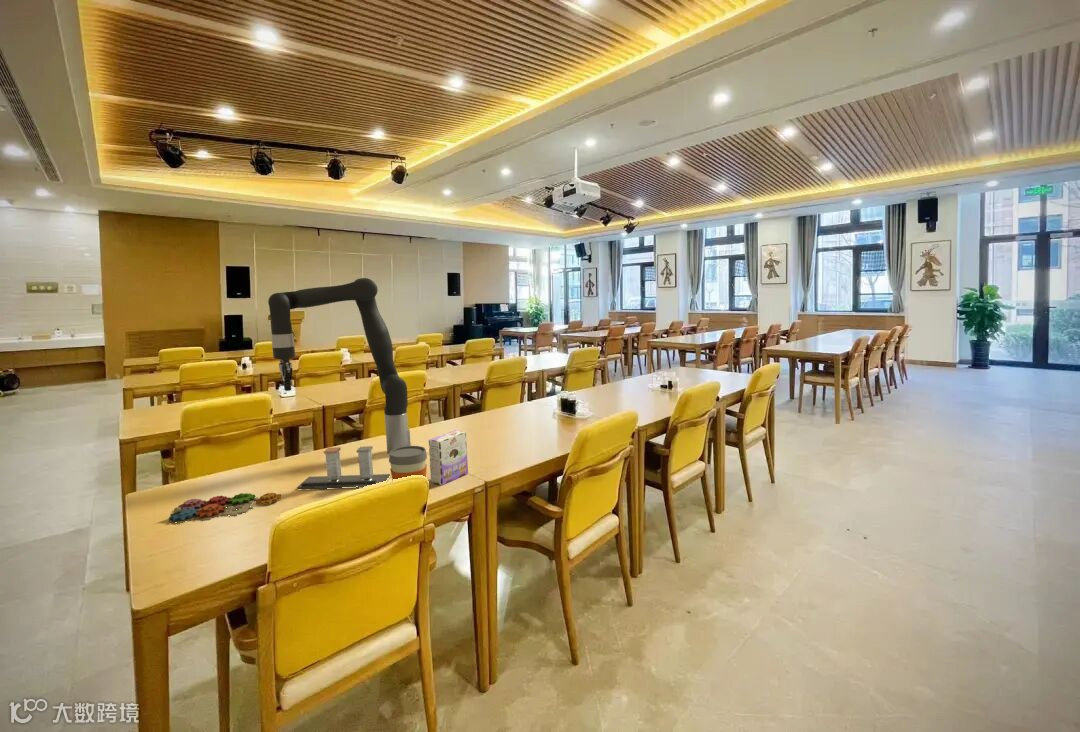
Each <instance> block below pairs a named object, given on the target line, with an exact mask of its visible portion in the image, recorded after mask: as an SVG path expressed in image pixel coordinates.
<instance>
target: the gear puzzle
mask: <svg viewBox="0 0 1080 732" xmlns="http://www.w3.org/2000/svg"><path fill="white" fill-rule="evenodd" d="M255 497H256V498H255ZM282 499H283V498H282V494H281V493H275V492H268V493H267V492H266V493H264V494H262V495H261V496H259V497H257V496H256V494H252V493H251V492H250V493H248V492H245V493H243V492H242V493H241V492H240V493H239V494H235V495H234V496H233V497H227V496H224V495H216V496H213V497H211V498H209V500H202V499H199V498H191V499H188V500H186V501H183V503H182V504H179V505H178V506H177V507H174V509H173V513H171V514H169V515H170V516H169V517H168V521H167V524H168V523H173V524H174V525H175V524H177V525H181V524H180V523H183V524H184V523H186V522H185V521H188V522H192V520H193V521H201V520H202V522H204V521H205V520H206V521H211V520H212V519H215V518H214V517H217V518H220V517H219V516H221V517H222V516H224V517H229V518H231V517H230V516H234V517H238V515H243V514H242V513H245V514H247V513H248V512H249V511H250V510H249V509H252V510H254V508H253V507H255V506H254V505H252V504H253V503H254V502H255V505H256V506H257V505H260V506H264V505H271V504H272V503H277V502H278V501H279V500H282ZM250 506H251V507H250ZM226 507H227V508H226ZM236 509H237V510H236ZM246 512H247V513H246ZM237 514H238V515H237ZM228 515H230V516H228ZM175 522H177V523H175Z"/></svg>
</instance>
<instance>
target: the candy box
mask: <svg viewBox="0 0 1080 732" xmlns="http://www.w3.org/2000/svg"><path fill="white" fill-rule="evenodd" d="M466 433H467V432H466V431H461V430H452V431H450V432H447V433H443V434H440V435H438V436H435V437H431V438H429V439H428V448H429V449H428V452H429V467H430V482H431V483H433V484H435V485H438V486H444V485H446V484H448V483H451V482H452V481H455V480H457V479H459V478H461V477H463V476H465V475H467V474H468V473H469V468H468V467H469V465H468V451H467V434H466Z"/></svg>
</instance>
